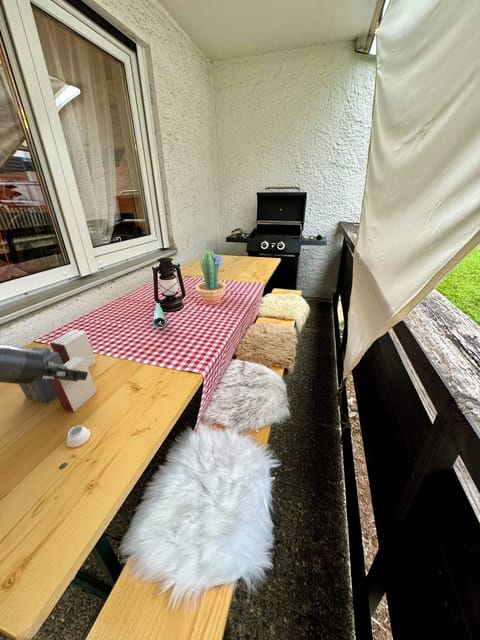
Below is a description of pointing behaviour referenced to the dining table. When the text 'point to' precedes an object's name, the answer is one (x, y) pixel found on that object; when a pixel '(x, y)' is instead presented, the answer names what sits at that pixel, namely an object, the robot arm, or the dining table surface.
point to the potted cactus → (211, 279)
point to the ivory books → (74, 347)
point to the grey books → (42, 380)
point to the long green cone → (158, 317)
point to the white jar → (77, 436)
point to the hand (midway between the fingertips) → (73, 373)
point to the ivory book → (74, 387)
